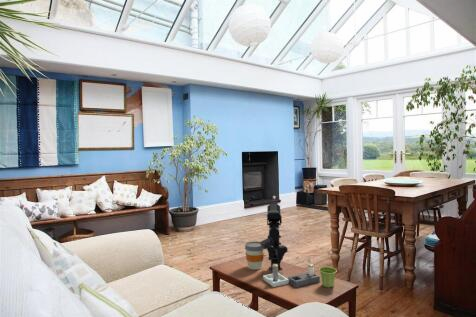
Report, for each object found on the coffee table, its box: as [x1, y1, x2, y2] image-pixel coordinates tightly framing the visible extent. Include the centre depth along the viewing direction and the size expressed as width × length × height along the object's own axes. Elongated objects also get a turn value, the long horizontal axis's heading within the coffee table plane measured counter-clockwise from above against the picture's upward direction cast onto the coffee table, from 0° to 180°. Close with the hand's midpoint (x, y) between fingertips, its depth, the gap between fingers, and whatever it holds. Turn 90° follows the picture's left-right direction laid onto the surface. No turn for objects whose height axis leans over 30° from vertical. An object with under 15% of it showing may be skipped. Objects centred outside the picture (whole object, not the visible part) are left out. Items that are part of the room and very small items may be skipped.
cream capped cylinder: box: [272, 264, 279, 281], centre depth 179 cm, size 3×3×9 cm
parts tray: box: [262, 272, 290, 288], centre depth 179 cm, size 12×10×2 cm
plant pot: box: [318, 266, 338, 288], centre depth 172 cm, size 9×9×9 cm
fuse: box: [307, 263, 315, 277], centre depth 179 cm, size 3×3×9 cm
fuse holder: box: [287, 272, 321, 288], centre depth 177 cm, size 8×16×3 cm, turn 114°
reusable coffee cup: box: [244, 241, 265, 270], centre depth 203 cm, size 13×13×15 cm
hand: (275, 260), depth 179 cm, fingers open, 9 cm apart
